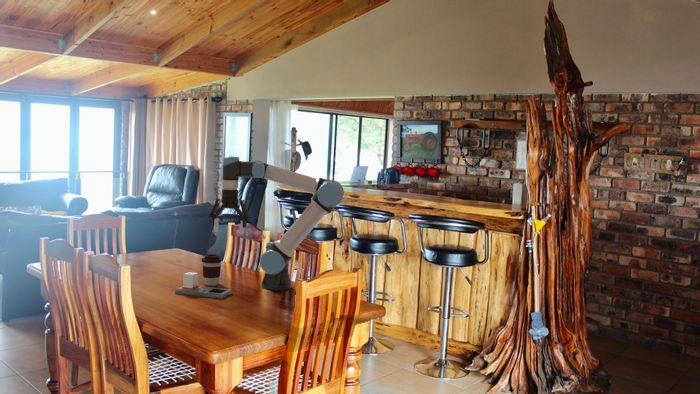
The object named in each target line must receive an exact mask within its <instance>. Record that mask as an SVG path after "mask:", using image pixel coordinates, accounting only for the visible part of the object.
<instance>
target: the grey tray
mask: <svg viewBox="0 0 700 394" xmlns="http://www.w3.org/2000/svg"><path fill="white" fill-rule="evenodd" d="M174 291H175V295H176V294H177V295H186V296H193V297H194V296H195V297H200V298H201V297H203V298H210V299H219V300H222V299H224V298H227V297H229V296H230V295H232V294H233V289H230V288H220V287H212V286H203V285H198V288H196V289H194V290H191V289H183V285H182V286H180V287H177V288H175V290H174Z"/></svg>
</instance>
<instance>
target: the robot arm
mask: <svg viewBox="0 0 700 394" xmlns="http://www.w3.org/2000/svg"><path fill="white" fill-rule="evenodd" d="M222 159H223V161H222V181H221V184H222V190H221V197H222V198H221V197H216V198H215V203H214V205H213V207H212V209H211V210H210V213H209V215H208V216H209V218H212V225H213V227H214V231H213V233H219V225H220V223H219V222H220V221H219V220H220V219H219V218H218V217H219V216H220V215H221V214H222V212H223V211H224V210H225V209H231V210H232V209H234V211H235V212H236V213H237V215H238V216H239V218H240V219H241V220H240V235H242V236H243V235H245V228H247V221H248V220H250V219H251V216H250V214H249V210H248V209H247V206H246V204H245V199H239V190H238V189H239V178H243V177H244V178H254V179H258V178H259V179H260V178H261V179H265V180H268V181H271V182H274V183H277V184H281V185H284V186H287V187H291V188H293V189H297V190H300V191H304V192H307V193H309V194H312V196H311V197H310V200H311V201H310V203H309V205H308V206H307V207H306V208H305V209H304V210H303V211H302V213H301V214H300V215H299V216H298V217H297V219H296V220H295V221H294V222H293V223H292V225H291V226H290V227H289V228H288V229H287V231H285V233H284V234H283V235H282V236H281V238H280V239H278V240H273V241H269V242H268V241H267V242H266V245H265V251H264V252H263V253H262V254H261V256H260V260H259V264H260V267H261V270H263V272H264V275H263V278H262V280H261V284H260V285H261V287H260V288H261V289H263V290H269V291H274V292H276V291H277V292H278V291H280V292H281V291H289V290H291V289H292V285H293V284H292V280H291V276H290V274H289V271H290V269H289V267H290V261H291V259H293V257H294V251H295V250H296V249H297V248H298V246H299V245H300V244H301V243H302V241H304V239H305V238H306V237H307V236H308V235H309V234H310V233H311V231H312V230H313V229H314V228H315V226H317V224H318V223H319V222H320V221H321V220H322V218H323V217H324V216H325V215H330V214H331V213H332V211H334V209H335V208H336V207H337V206H339V204H340V203H341V202H342V200H343V198H344V192H345V191H344V188H343V186H342V184H341V183H340V182H338V181H337V180H333V179H326V178H323V177H318V178H316V177H312V176H309V175H305V174H302V173H299V172H296V171H292V170H289V169H285V168H282V167H279V166H276V165H272V164H269V163H265V162H263V161H260V160H253V161H248V160H247V161H246V160H244V161H242V160H240V157H239V156H224V157H223V158H222ZM221 203H222V205H220V204H221ZM238 204H239V205H240V206H239V205H238ZM219 206H220V208H219ZM218 208H219V209H218ZM240 208H241V209H240Z"/></svg>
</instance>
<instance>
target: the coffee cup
mask: <svg viewBox="0 0 700 394" xmlns="http://www.w3.org/2000/svg"><path fill="white" fill-rule="evenodd" d="M201 262H202V277H203V284H204V285H205V286H218V285H219V284H220V277H221V266H222V262H223V258H222V257H220V255H219V254H212V253H211V254H210V253H208V254H205V255H204V257H202V258H201Z"/></svg>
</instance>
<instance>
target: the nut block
mask: <svg viewBox="0 0 700 394" xmlns="http://www.w3.org/2000/svg"><path fill="white" fill-rule="evenodd" d="M182 276H183V277H182V286H183V289H191V290H194V289H196V288H198V286H199V272H194V271H193V272H191V271H188V272H185V273H183V274H182Z"/></svg>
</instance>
